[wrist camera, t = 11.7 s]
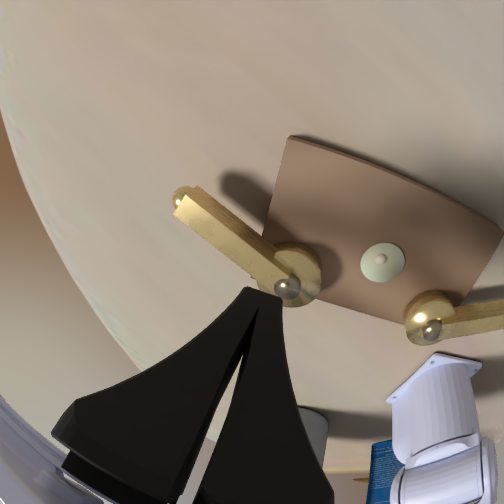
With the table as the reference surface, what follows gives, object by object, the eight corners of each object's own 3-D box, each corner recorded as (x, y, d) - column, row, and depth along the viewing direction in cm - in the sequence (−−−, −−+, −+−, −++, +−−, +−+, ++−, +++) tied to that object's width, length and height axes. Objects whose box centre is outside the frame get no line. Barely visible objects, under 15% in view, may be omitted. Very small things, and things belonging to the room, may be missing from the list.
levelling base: (433, 323, 20) (437, 338, 18) (254, 268, 21) (248, 281, 20) (497, 225, 14) (507, 236, 13) (290, 135, 15) (286, 139, 14)
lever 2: (400, 331, 19) (404, 354, 17) (406, 292, 17) (412, 315, 15) (506, 316, 16) (515, 335, 14) (520, 278, 14) (532, 297, 12)
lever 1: (334, 268, 18) (334, 290, 16) (294, 300, 20) (289, 322, 18) (201, 159, 16) (184, 169, 14) (172, 205, 18) (155, 219, 16)
